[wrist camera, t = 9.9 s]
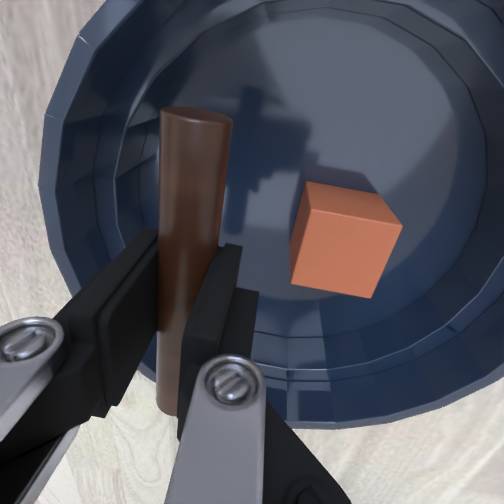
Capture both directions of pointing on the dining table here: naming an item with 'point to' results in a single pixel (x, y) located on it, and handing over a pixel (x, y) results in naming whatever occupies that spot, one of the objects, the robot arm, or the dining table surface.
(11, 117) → the dining table surface
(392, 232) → the block
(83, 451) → the dining table surface
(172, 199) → the stick
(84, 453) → the dining table surface
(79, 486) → the dining table surface
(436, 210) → the bowl
